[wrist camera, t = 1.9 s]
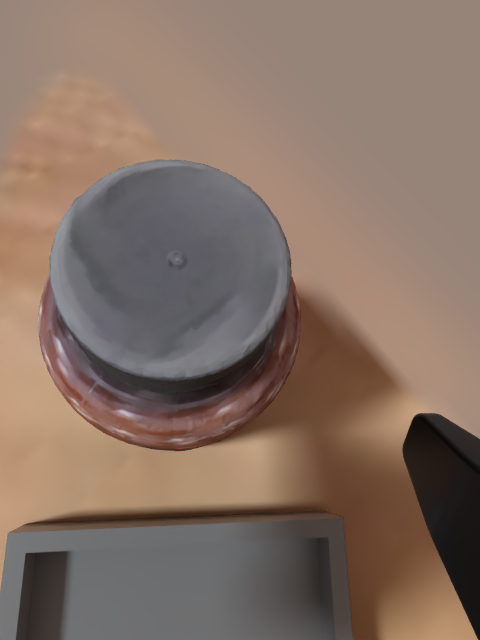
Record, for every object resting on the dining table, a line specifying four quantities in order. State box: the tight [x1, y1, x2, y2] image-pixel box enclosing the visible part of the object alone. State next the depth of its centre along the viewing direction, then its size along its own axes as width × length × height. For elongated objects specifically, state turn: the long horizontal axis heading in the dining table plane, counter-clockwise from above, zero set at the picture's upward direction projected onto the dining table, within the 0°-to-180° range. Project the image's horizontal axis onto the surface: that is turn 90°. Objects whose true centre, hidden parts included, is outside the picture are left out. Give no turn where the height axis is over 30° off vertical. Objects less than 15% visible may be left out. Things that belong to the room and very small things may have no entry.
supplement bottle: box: [38, 160, 301, 451], centre depth 12 cm, size 6×6×11 cm
